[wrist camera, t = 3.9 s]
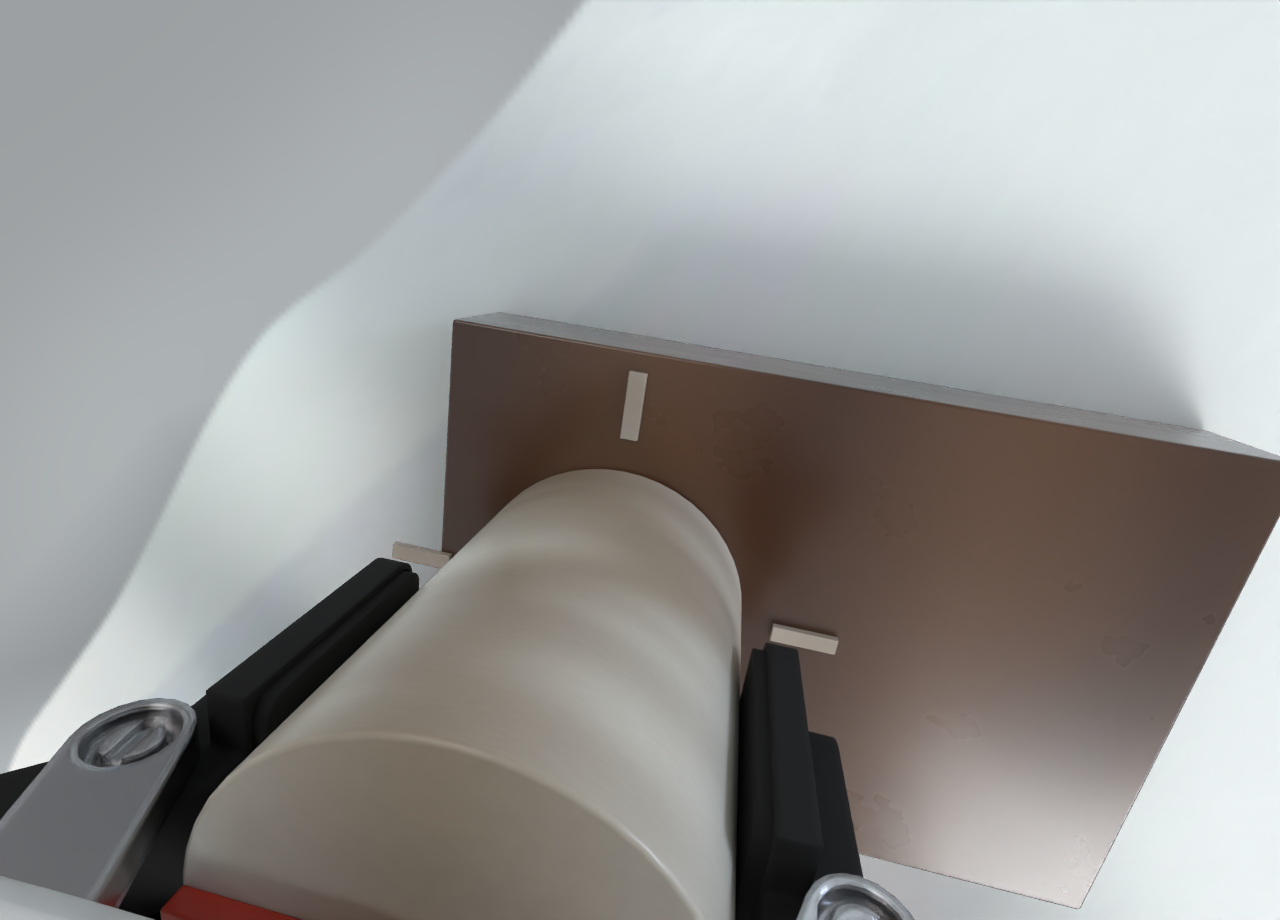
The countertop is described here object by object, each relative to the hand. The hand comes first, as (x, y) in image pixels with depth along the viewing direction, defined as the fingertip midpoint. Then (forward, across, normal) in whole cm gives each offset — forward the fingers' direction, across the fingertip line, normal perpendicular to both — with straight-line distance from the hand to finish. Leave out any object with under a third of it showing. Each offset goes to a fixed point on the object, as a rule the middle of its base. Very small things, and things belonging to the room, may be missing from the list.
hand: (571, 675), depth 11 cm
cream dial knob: (+3, 0, 0) cm, 3 cm away
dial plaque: (+5, -4, 0) cm, 7 cm away
